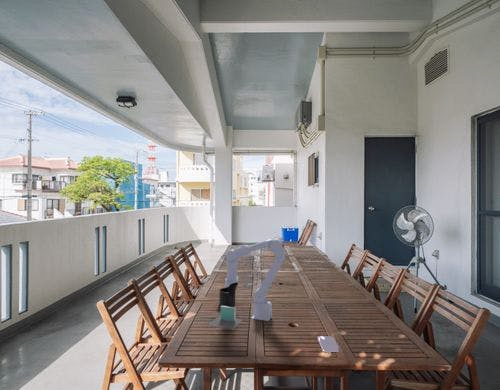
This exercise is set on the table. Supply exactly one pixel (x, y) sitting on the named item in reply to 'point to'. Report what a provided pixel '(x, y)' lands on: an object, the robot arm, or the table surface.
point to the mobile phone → (328, 344)
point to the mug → (226, 298)
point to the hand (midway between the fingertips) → (231, 296)
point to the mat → (225, 323)
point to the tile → (228, 313)
